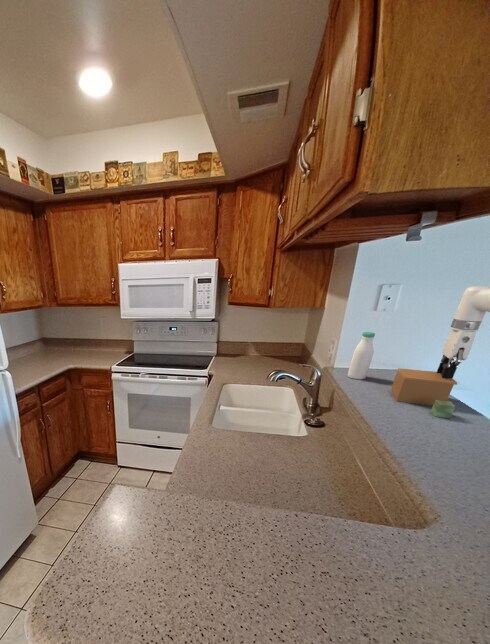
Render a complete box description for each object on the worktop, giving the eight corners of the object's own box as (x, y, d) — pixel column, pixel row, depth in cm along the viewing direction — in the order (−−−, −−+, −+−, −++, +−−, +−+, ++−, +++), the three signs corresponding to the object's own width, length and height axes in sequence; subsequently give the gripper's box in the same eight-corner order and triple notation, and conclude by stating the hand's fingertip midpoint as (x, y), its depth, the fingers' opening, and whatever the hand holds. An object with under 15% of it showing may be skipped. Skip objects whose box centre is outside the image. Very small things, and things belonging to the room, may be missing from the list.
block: (445, 413, 116) (451, 401, 114) (450, 418, 112) (455, 406, 110) (430, 411, 118) (435, 399, 115) (434, 416, 114) (439, 404, 112)
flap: (445, 374, 127) (451, 361, 124) (456, 384, 117) (463, 370, 114) (397, 370, 132) (401, 357, 129) (404, 379, 122) (409, 365, 119)
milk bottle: (367, 380, 147) (380, 335, 137) (348, 378, 149) (360, 333, 140) (364, 375, 153) (377, 331, 143) (346, 373, 155) (358, 330, 146)
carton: (434, 395, 131) (442, 374, 127) (444, 406, 121) (453, 384, 117) (390, 390, 136) (397, 370, 132) (396, 400, 126) (404, 379, 122)
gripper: (489, 330, 105) (465, 384, 114) (469, 321, 119) (448, 370, 128) (461, 329, 107) (439, 381, 116) (444, 320, 121) (425, 368, 130)
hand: (444, 375), depth 122 cm, fingers closed on flap, 5 cm apart
